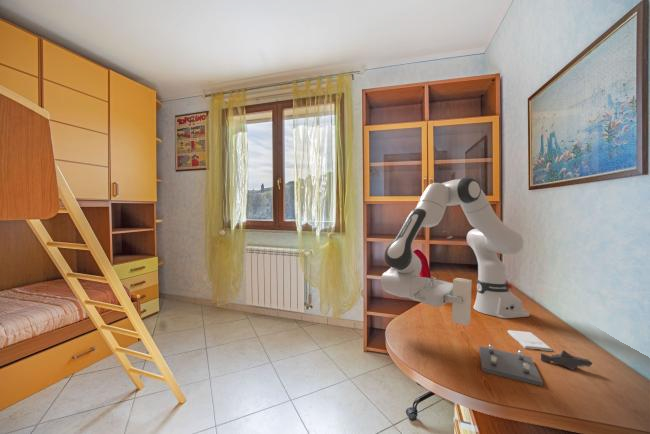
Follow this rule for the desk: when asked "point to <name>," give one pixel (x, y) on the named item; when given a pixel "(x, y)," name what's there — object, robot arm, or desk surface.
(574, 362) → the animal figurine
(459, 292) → the cream column
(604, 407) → the desk surface
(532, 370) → the plate
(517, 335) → the external hard drive
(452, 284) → the robot arm
